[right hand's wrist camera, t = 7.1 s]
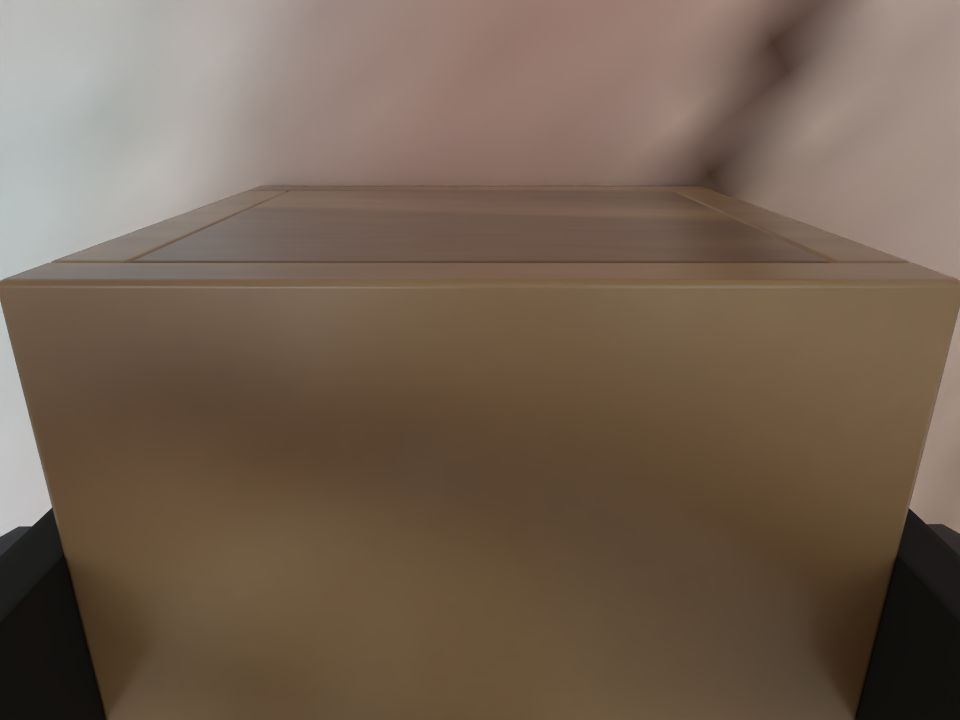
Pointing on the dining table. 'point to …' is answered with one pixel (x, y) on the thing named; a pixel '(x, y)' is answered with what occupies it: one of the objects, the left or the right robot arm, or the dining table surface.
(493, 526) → the wooden recessed-top box
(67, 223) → the dining table surface
